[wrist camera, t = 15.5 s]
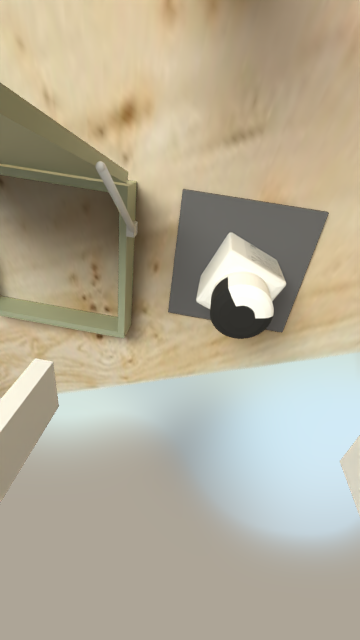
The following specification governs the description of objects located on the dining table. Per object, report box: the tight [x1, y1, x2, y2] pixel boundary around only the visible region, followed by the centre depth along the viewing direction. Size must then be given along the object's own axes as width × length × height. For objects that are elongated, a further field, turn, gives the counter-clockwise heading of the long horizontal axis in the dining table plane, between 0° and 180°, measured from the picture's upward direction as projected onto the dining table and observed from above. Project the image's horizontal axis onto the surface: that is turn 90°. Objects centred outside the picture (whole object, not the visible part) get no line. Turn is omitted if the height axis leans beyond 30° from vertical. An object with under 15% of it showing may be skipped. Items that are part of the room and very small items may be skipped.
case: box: [0, 161, 138, 338], centre depth 36 cm, size 25×25×15 cm
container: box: [196, 232, 286, 339], centre depth 35 cm, size 8×8×13 cm
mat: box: [168, 189, 328, 332], centre depth 41 cm, size 18×18×1 cm
